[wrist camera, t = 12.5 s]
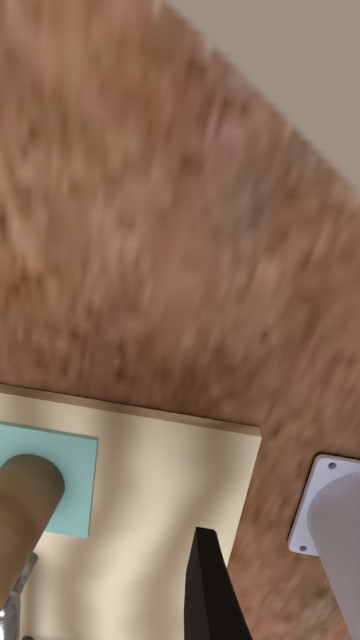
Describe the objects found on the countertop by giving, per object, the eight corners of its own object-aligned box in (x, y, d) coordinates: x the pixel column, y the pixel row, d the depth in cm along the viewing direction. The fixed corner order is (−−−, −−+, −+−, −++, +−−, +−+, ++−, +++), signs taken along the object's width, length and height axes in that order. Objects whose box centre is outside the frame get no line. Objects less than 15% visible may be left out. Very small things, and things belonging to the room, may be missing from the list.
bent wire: (124, 564, 21) (110, 631, 18) (110, 660, 24) (95, 735, 21) (20, 546, 21) (-15, 609, 18) (18, 645, 24) (-14, 717, 21)
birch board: (258, 427, 19) (261, 437, 18) (190, 683, 26) (190, 700, 25) (-46, 376, 19) (-59, 383, 18) (-35, 644, 26) (-44, 660, 25)
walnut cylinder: (63, 514, 20) (8, 624, 14) (0, 503, 20) (-81, 609, 14) (65, 460, 19) (6, 557, 13) (-2, 449, 19) (-90, 540, 13)
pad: (98, 437, 19) (97, 440, 19) (88, 534, 21) (87, 538, 21) (-26, 416, 19) (-30, 419, 19) (-24, 515, 21) (-27, 519, 21)
